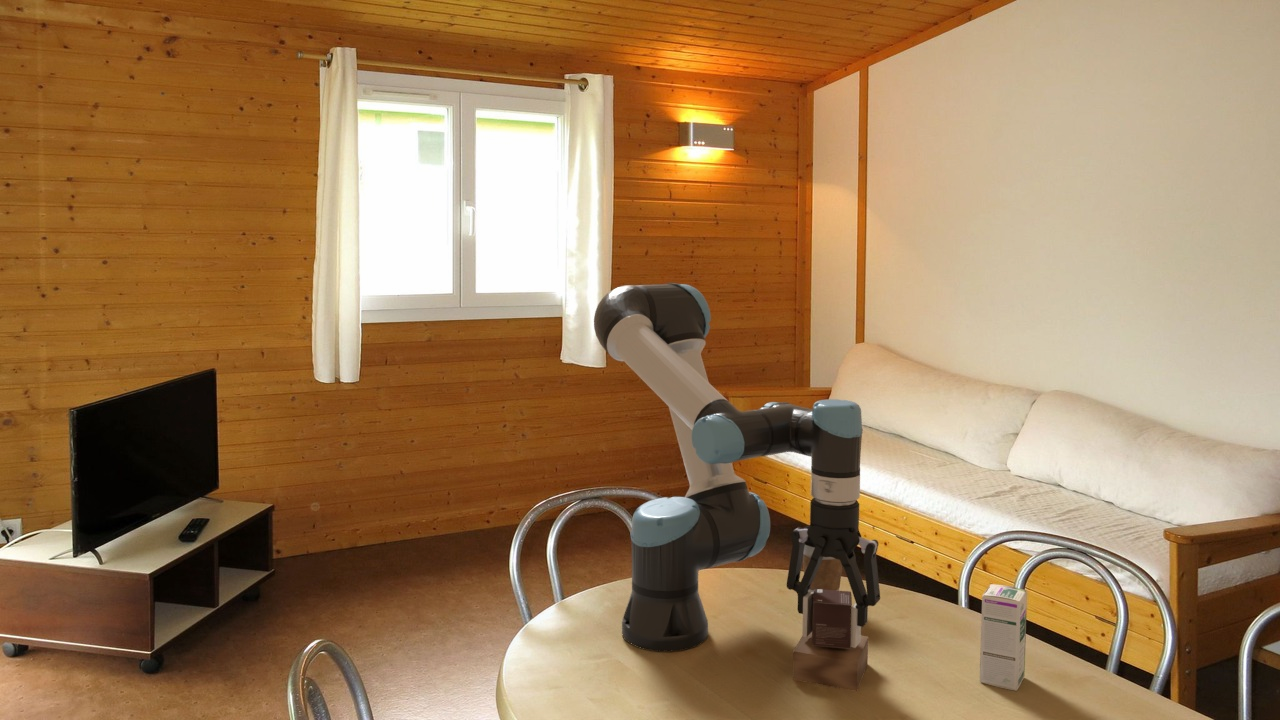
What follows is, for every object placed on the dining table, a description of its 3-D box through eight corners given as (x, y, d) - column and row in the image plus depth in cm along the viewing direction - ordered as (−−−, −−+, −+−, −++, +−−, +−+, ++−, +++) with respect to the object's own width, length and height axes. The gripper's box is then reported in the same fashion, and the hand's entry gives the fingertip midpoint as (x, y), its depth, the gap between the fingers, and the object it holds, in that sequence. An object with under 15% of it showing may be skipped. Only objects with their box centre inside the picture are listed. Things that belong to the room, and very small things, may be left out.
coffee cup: (848, 613, 172) (850, 534, 171) (803, 612, 173) (804, 534, 171) (839, 595, 181) (841, 521, 179) (796, 595, 181) (797, 521, 179)
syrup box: (1017, 692, 142) (1022, 601, 140) (977, 682, 145) (981, 593, 143) (1024, 677, 147) (1029, 589, 145) (985, 668, 150) (989, 582, 148)
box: (850, 650, 145) (852, 605, 144) (811, 646, 146) (812, 601, 145) (850, 634, 151) (851, 591, 150) (812, 631, 152) (813, 587, 151)
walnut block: (792, 681, 146) (793, 651, 146) (806, 655, 156) (807, 626, 155) (856, 693, 143) (857, 662, 142) (867, 665, 152) (868, 636, 151)
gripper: (765, 495, 147) (763, 633, 150) (892, 514, 137) (887, 662, 140) (783, 485, 154) (781, 617, 157) (906, 502, 143) (900, 643, 146)
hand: (831, 638), depth 148 cm, fingers closed on box, 7 cm apart
